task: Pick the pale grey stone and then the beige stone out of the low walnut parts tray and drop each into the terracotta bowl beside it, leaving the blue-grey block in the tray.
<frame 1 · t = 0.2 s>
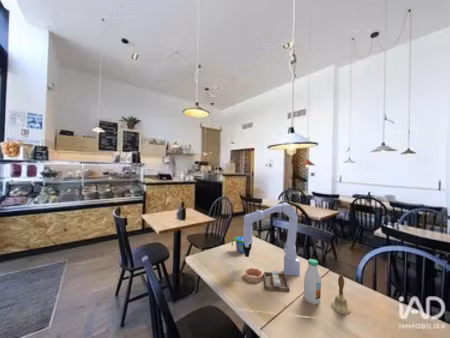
hand: (247, 254, 130), 10 cm above the table, fingers open, 7 cm apart
milk bottle: (311, 300, 101), on the table
blue-grey block: (274, 278, 119), point 1 cm above the table, touching walnut tray
walnut tray: (275, 283, 115), on the table
hand bell: (340, 308, 96), on the table
beige stone: (275, 282, 115), point 1 cm above the table, touching walnut tray
snack cup: (241, 251, 158), on the table
pale grey stone: (276, 286, 111), point 1 cm above the table, touching walnut tray
terracotta bowl: (253, 278, 120), on the table
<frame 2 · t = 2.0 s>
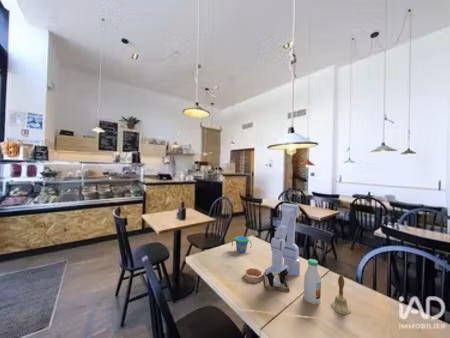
hand: (276, 284, 111), 2 cm above the table, fingers open, 7 cm apart
nothing on the table moved.
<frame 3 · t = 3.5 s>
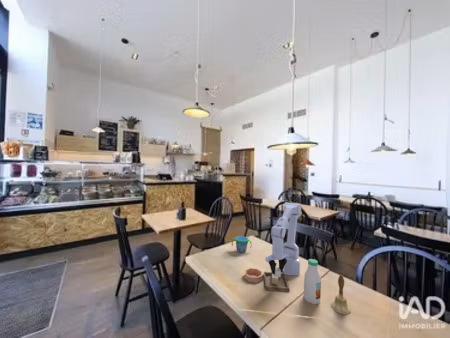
hand: (277, 272, 111), 9 cm above the table, fingers closed on pale grey stone, 5 cm apart
pale grey stone: (276, 275, 111), point 7 cm above the table, touching gripper
everything else where it was.
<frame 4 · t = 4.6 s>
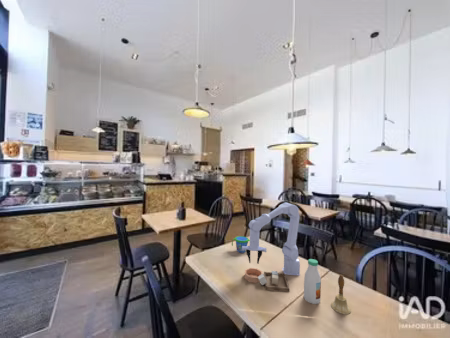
hand: (253, 262, 122), 9 cm above the table, fingers open, 4 cm apart
pale grey stone: (261, 278, 115), point 3 cm above the table, tilted 85°, touching terracotta bowl, walnut tray
everything else where it was.
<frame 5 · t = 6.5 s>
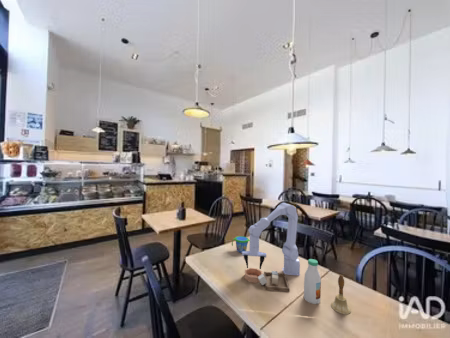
hand: (253, 267, 122), 5 cm above the table, fingers open, 7 cm apart
nothing on the table moved.
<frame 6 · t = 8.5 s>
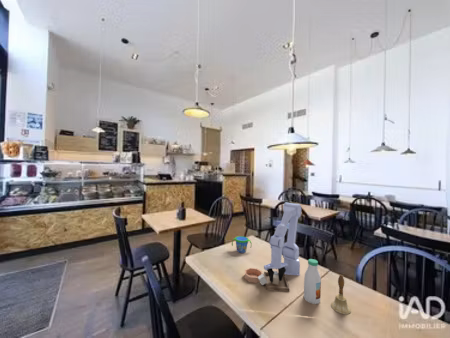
hand: (275, 280, 115), 2 cm above the table, fingers closed on beige stone, 5 cm apart
blue-grey block: (274, 278, 119), point 1 cm above the table, touching gripper, walnut tray
beige stone: (275, 282, 115), point 1 cm above the table, touching gripper, walnut tray
everything else where it was.
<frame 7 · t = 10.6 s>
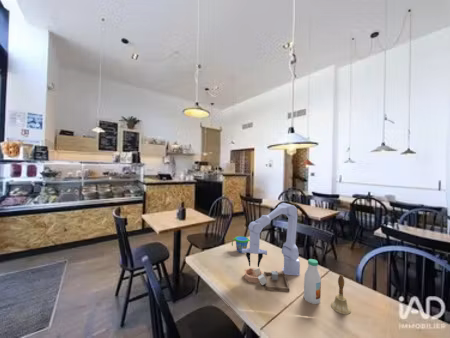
hand: (253, 265, 118), 9 cm above the table, fingers open, 4 cm apart
blue-grey block: (274, 278, 119), point 1 cm above the table, touching walnut tray
beige stone: (258, 272, 120), point 4 cm above the table, tilted 116°, touching terracotta bowl
everything else where it was.
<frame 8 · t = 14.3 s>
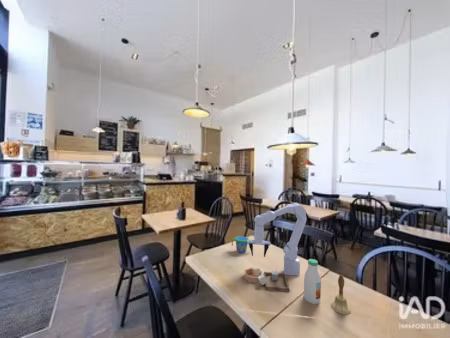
hand: (258, 255, 128), 10 cm above the table, fingers open, 7 cm apart
nothing on the table moved.
at the end: pale grey stone inside the target area on the terracotta bowl (6.6 cm from its centre), point 3.2 cm above the terracotta bowl's base; beige stone inside the target area on the terracotta bowl (2.6 cm from its centre), point 3.7 cm above the terracotta bowl's base; the gripper is holding nothing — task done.
